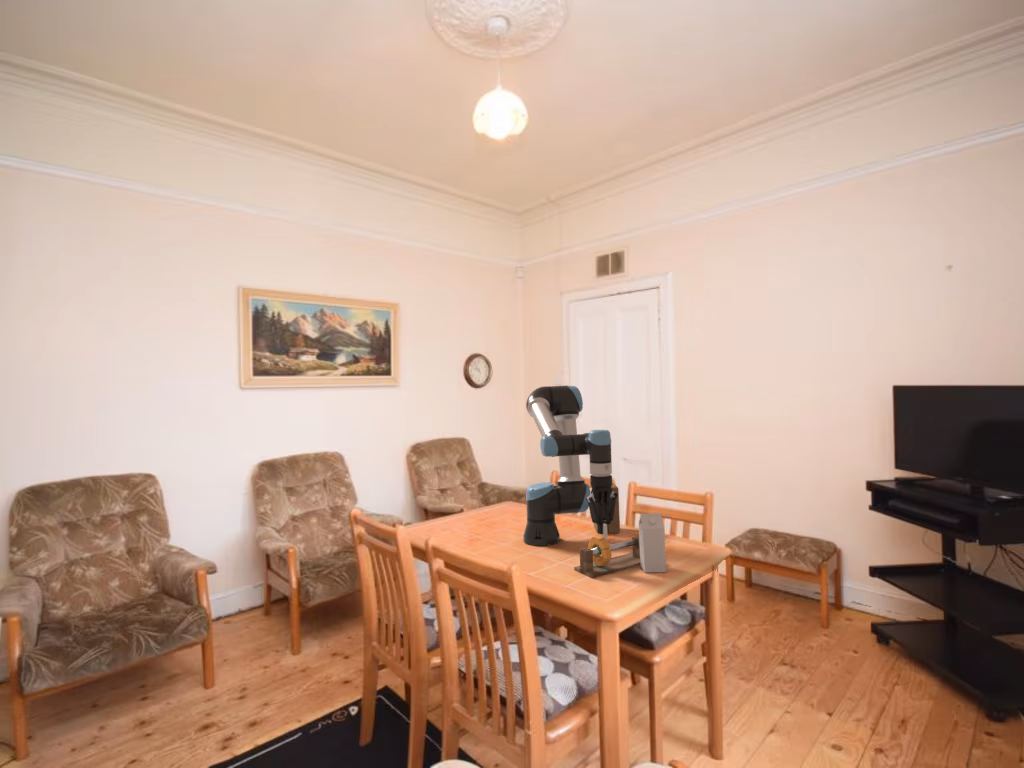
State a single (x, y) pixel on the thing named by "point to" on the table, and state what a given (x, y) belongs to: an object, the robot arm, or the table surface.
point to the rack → (613, 566)
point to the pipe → (616, 546)
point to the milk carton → (652, 543)
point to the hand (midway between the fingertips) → (603, 542)
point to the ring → (604, 550)
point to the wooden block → (615, 524)
